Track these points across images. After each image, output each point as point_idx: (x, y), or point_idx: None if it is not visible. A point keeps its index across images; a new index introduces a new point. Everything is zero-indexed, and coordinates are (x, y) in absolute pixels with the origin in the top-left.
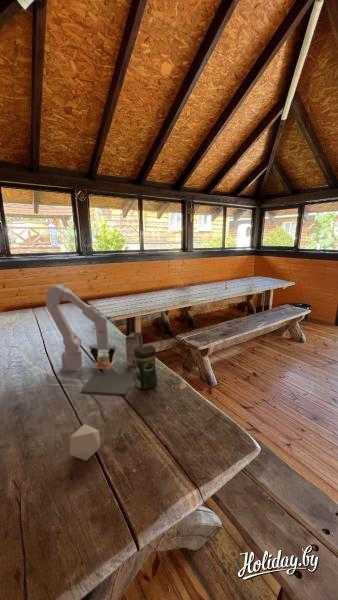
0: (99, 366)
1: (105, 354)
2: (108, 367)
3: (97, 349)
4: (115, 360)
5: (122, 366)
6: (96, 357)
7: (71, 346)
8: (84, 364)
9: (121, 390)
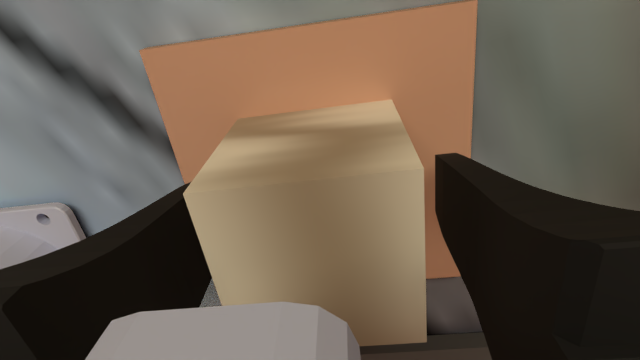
0: None
1: (342, 235)
2: (430, 245)
3: (79, 327)
4: (468, 17)
5: (619, 149)
6: (193, 278)
7: None
8: (75, 240)
9: None
